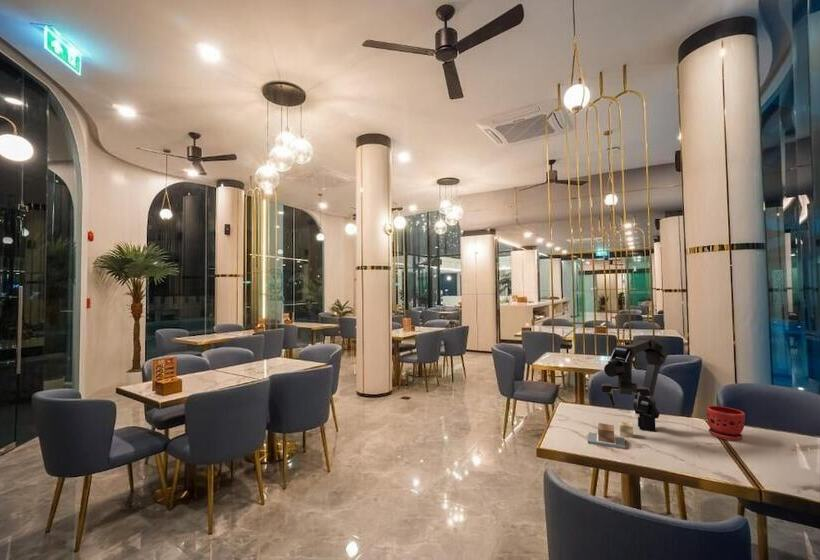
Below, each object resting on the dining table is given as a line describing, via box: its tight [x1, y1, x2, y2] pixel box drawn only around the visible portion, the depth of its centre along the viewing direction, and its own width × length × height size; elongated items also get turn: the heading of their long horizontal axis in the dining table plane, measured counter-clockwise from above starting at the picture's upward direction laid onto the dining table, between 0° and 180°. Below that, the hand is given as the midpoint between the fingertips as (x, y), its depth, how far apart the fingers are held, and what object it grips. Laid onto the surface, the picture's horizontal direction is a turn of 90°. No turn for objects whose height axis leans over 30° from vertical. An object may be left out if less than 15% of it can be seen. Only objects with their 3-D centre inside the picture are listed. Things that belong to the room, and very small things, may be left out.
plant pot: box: [706, 405, 746, 441], centre depth 170 cm, size 13×13×12 cm
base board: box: [587, 431, 626, 450], centre depth 166 cm, size 14×11×1 cm
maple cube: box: [619, 421, 634, 439], centre depth 173 cm, size 5×5×5 cm
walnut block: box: [597, 422, 615, 443], centre depth 166 cm, size 6×8×5 cm
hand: (625, 408), depth 173 cm, fingers open, 9 cm apart
